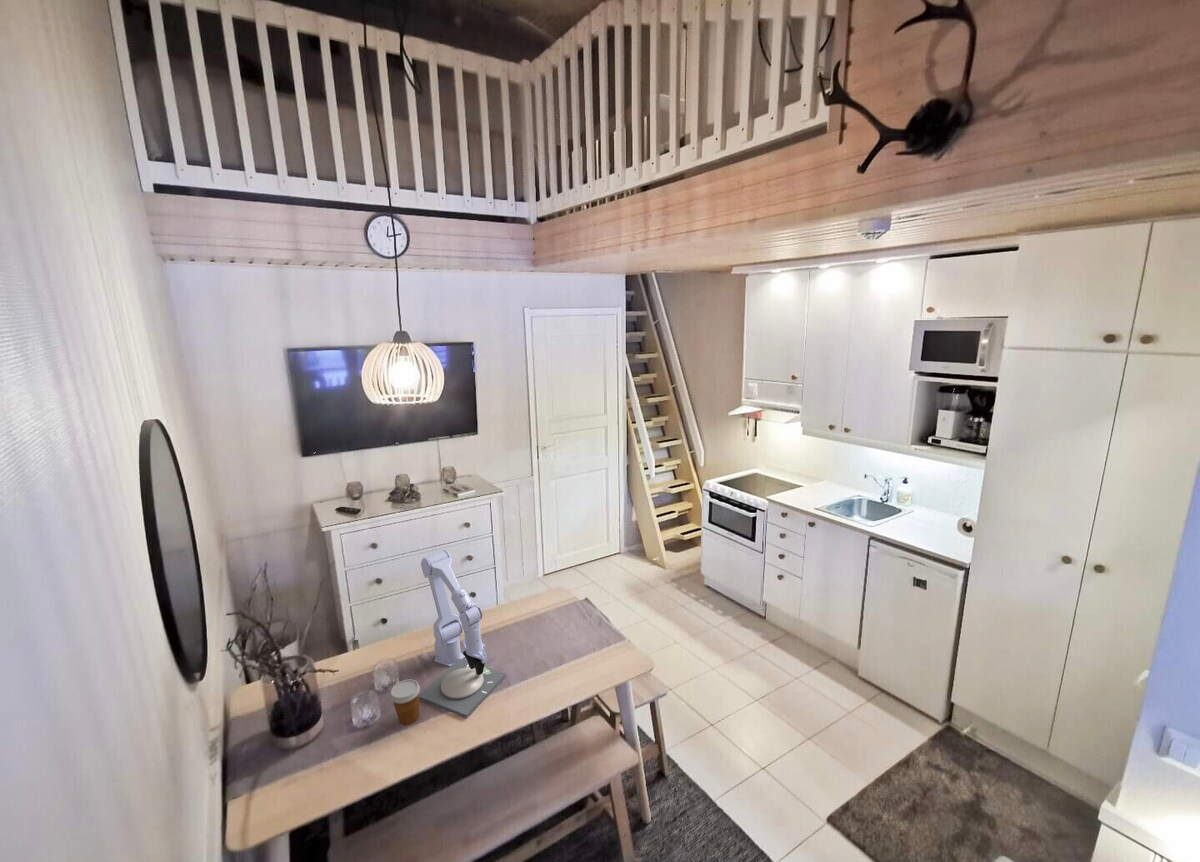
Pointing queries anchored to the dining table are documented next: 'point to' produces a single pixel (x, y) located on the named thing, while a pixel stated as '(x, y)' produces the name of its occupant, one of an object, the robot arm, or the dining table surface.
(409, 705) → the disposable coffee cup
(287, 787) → the dining table surface
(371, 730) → the dining table surface
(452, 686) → the beige oval dome
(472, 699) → the tuner board
